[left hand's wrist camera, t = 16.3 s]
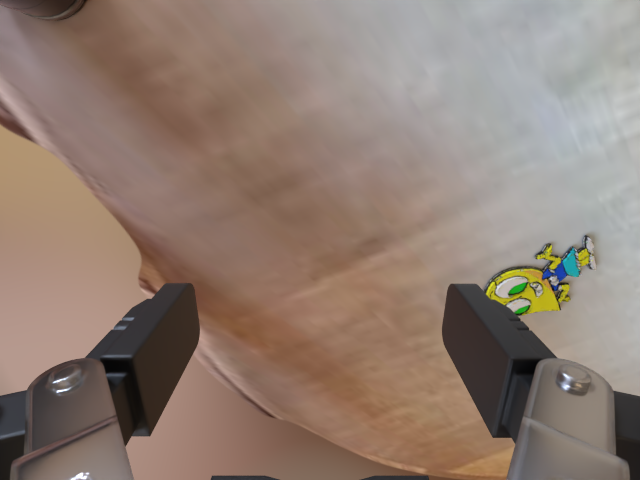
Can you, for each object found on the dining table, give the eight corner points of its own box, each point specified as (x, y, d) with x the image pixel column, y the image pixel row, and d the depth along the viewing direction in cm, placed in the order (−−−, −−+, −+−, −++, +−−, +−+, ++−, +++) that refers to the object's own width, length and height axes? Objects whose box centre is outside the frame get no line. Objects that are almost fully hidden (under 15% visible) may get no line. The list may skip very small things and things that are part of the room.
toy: (604, 300, 45) (489, 340, 47) (599, 296, 45) (486, 336, 48) (591, 231, 41) (468, 278, 43) (586, 229, 42) (465, 275, 44)
